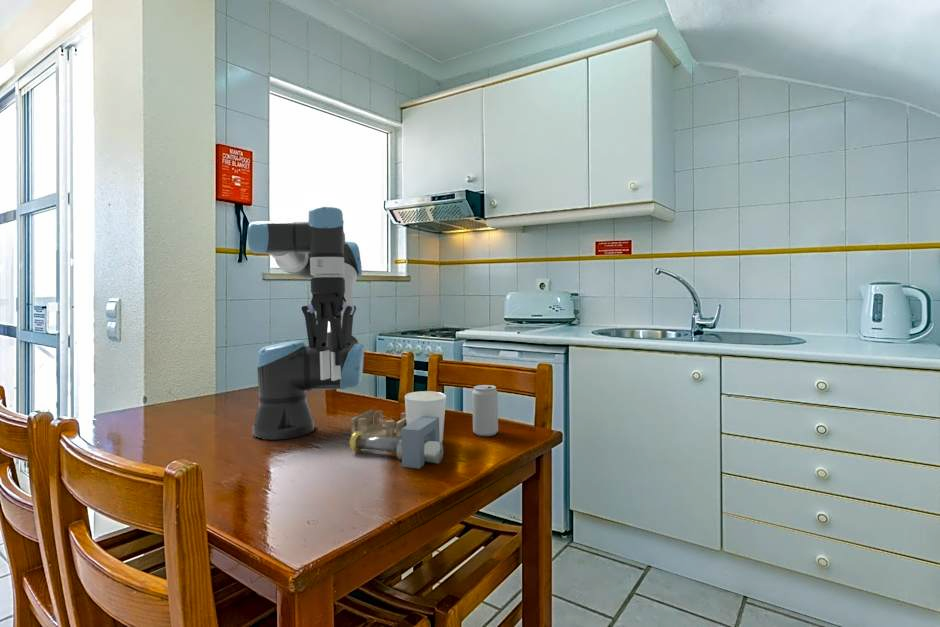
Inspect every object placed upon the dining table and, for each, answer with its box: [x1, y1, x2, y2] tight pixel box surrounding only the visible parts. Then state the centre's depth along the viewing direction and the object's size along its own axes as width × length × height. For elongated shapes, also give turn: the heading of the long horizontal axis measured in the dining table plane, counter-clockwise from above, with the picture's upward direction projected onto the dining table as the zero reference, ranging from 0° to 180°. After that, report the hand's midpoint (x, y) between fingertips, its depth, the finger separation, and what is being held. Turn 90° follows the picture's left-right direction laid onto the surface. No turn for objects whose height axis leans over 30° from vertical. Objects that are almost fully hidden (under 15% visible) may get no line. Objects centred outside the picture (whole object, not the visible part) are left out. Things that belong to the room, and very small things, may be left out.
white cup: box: [404, 390, 447, 443], centre depth 124 cm, size 10×10×12 cm
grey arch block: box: [401, 416, 440, 470], centre depth 113 cm, size 4×11×8 cm, turn 161°
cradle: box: [348, 409, 406, 445], centre depth 127 cm, size 14×10×6 cm
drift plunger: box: [349, 431, 400, 453], centre depth 116 cm, size 11×5×5 cm, turn 71°
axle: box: [396, 439, 444, 464], centre depth 112 cm, size 9×4×4 cm, turn 70°
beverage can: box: [471, 384, 499, 437], centre depth 131 cm, size 6×6×12 cm
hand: (330, 379), depth 119 cm, fingers open, 2 cm apart
